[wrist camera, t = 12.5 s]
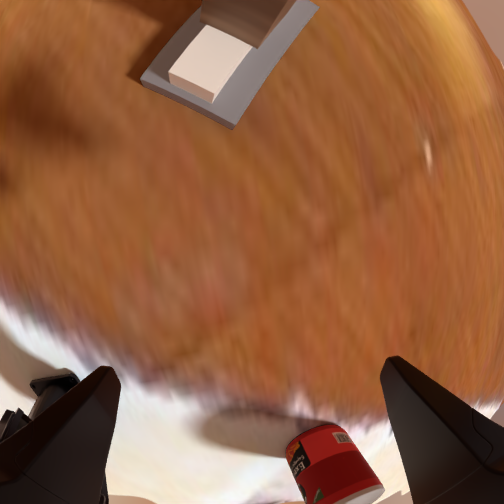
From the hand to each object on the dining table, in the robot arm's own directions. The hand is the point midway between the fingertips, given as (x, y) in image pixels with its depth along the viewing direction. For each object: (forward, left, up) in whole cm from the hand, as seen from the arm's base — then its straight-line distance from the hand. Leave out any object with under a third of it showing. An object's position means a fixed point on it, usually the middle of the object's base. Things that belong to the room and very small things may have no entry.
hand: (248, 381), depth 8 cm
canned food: (+4, -25, -12) cm, 28 cm away
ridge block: (+6, +16, -12) cm, 21 cm away
